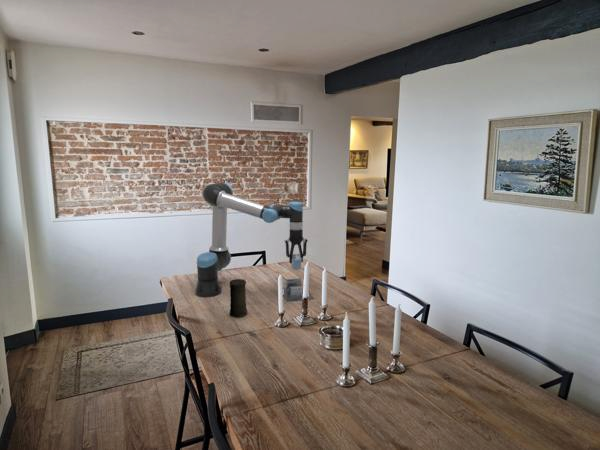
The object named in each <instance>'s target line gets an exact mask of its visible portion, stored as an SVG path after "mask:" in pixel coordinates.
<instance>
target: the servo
mask: <svg viewBox="0 0 600 450" xmlns="http://www.w3.org/2000/svg"><path fill="white" fill-rule="evenodd" d="M292 257H293V269H292V270H294V271H296V270H302V262H301V261H302V260H301V256H300V253H293V256H292Z"/></svg>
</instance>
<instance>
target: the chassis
mask: <svg viewBox="0 0 600 450" xmlns="http://www.w3.org/2000/svg"><path fill="white" fill-rule="evenodd" d="M302 283H303V282H302V278H301V277H299V278H298V277H297V278H287V279H285V287H283V288H284V296H283V298H284V299H285V301H286V302H287V303H289V302H295V301H297V302H298V301H303V300H302V294H303V286H304V285H302ZM314 299H315V298H314V296H313V295H312V294H311V293H310V292H309V299H308V300H314Z"/></svg>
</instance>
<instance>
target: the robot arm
mask: <svg viewBox="0 0 600 450" xmlns="http://www.w3.org/2000/svg"><path fill="white" fill-rule="evenodd" d="M202 198H203V199H204V201H205V202H206V203H208V204H209V206H210V207H212V220H211V221H212V223H211V246H210V247H209V251H208V252H207V251H206V252H203V253H201V254H199V255H198V256H197V258H196V267H197V268H196V269H197V283H196V287H195V292H194V293H195V295H196V296H197V297H203V298H211V297H215V296H218V295H220V294H222V286H221V284H220V281H219V271H221V270H223V269H225V268H226V267H227V266H229V265H230V263H231V260H232V255H231V253H230V251H229V247H228V246H227V224H228V223H227V221H228V219H227V218H228V209H230V210H233V211H236V212H240V213H244V214H247V215H249V216H252V217H255V218H259V219H261V220H263V221H264V222H265V223H269V224H271V223H274V222H276V221H278V220H280V219H289V237H288V239H285V240H284V243H285V254H286V255H285V256H286V257H287V258H289V260H288V261H289V264H290V268H291V269H292V270H294V269H293V257H292V256H293V254H294V249H295V247H296V246H297V248H298V251H299V253H298V254H299V255H300V256H301V260H302V261H301V263H303V262H304V257H305V256H307V244H308V238H304V237H303V229H304V228H303V213H304V212H303V211H304V209H303V202H301V201H291V202H289V204H287V205H286V204H271V205H270V206H267V205H265V204H260V203H258V202H256V201H252V200H250V199H246V198H242V197H239V196H236V195H234V190H233V188H232V186H231V185H230V184H228V183H227V182H222V181H221V182H215V183H211V184H207V185H206V186H205V187H204V188H203V191H202ZM302 242H303V243H302ZM290 243H291V244H290ZM301 243H302V244H303V245H302V244H301ZM289 245H290V246H289Z"/></svg>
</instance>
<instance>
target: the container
mask: <svg viewBox="0 0 600 450" xmlns="http://www.w3.org/2000/svg"><path fill="white" fill-rule="evenodd" d="M246 284H247V281H246V280H245V279H244V278H235V279H231V280H230V281H229V288H230V289H229V292H230V293H229V295H230V301H229V303H230V304H229V305H230V309H229V316H230V317H231V318H235V319H236V318H237V319H238V318H243V317H246V316H247V315H248V309H247V302H246V301H247V299H246V297H247V296H246V290H247V289H246Z"/></svg>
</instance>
